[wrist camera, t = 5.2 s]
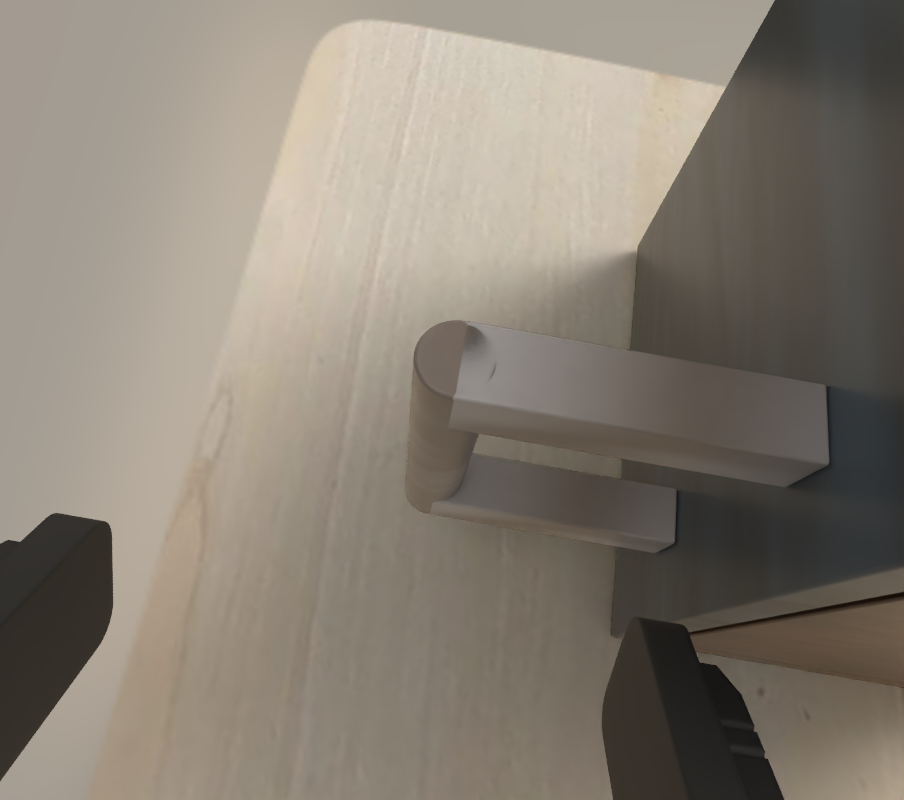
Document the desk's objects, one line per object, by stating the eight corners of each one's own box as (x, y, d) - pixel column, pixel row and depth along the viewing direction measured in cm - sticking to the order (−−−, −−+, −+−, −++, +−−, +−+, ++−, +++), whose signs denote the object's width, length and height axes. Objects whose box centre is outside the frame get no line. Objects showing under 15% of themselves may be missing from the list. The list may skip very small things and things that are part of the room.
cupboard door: (387, 598, 21) (379, 407, 7) (459, 213, 27) (541, -355, 12) (642, 642, 22) (1165, 545, 7) (663, 250, 27) (986, -269, 12)
